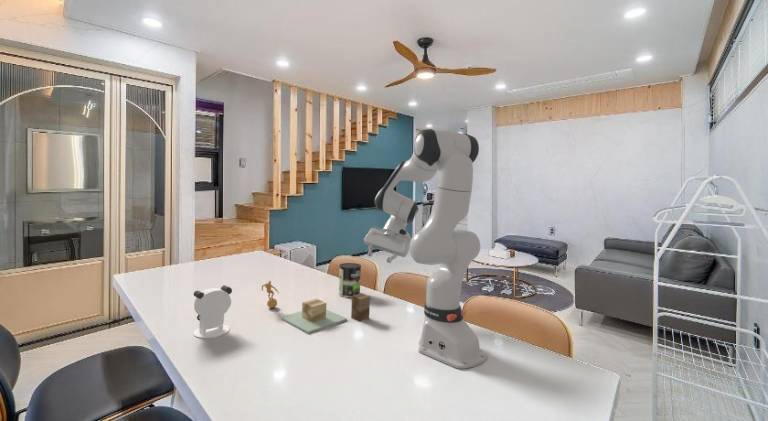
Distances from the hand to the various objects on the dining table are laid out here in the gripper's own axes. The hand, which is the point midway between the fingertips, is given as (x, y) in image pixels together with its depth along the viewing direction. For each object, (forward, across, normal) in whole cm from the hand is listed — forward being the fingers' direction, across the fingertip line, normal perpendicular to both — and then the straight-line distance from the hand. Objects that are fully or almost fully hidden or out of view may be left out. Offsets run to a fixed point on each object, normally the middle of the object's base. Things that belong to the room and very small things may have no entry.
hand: (378, 258), depth 147 cm
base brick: (+32, -12, -2) cm, 34 cm away
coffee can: (+12, -18, +25) cm, 33 cm away
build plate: (+33, -12, -2) cm, 35 cm away
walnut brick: (+24, +2, +5) cm, 25 cm away
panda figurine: (+53, -34, -20) cm, 66 cm away
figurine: (+36, -34, 0) cm, 49 cm away
